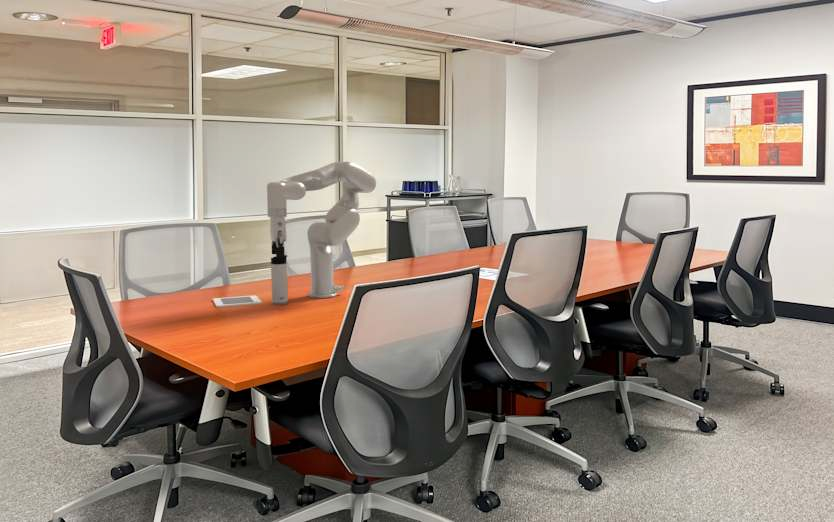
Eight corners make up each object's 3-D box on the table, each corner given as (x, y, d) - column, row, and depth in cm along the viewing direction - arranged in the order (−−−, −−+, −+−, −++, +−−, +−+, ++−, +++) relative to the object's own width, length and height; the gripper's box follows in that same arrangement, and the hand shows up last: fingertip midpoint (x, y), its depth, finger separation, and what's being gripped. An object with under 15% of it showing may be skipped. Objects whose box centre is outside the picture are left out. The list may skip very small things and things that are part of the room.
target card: (255, 296, 311) (255, 295, 311) (262, 303, 297) (262, 302, 296) (212, 300, 305) (212, 298, 305) (216, 307, 290) (216, 305, 290)
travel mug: (285, 305, 293) (283, 256, 290) (270, 305, 294) (268, 256, 291) (291, 302, 299) (289, 254, 296) (276, 301, 300) (274, 254, 297)
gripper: (290, 214, 284) (291, 257, 286) (282, 211, 300) (283, 252, 302) (271, 214, 281) (272, 258, 284) (264, 212, 297) (265, 253, 300)
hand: (278, 255), depth 293 cm, fingers open, 9 cm apart
